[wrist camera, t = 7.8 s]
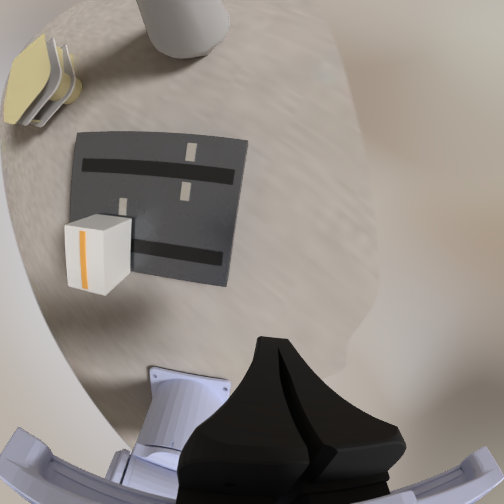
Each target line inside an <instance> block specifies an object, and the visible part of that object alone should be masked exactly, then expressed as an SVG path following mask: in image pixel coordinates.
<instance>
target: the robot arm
mask: <svg viewBox="0 0 504 504" xmlns="http://www.w3.org/2000/svg"><path fill="white" fill-rule="evenodd" d="M149 372H150V382H151V392H152V402H151V404H150V407H149V409H148V412H147V415H146V417H145V420H144V423H143V425H142V428H141V431H140V434H139V436H138V439H137V442H136V444H135V446H134V448H133V450H132V453H131V455H130V451H128V450H126V449H123V450H122V451H121V450H120V451H117V452H116V453H115V454H114V457H113V459H112V462H111V464H110V466H109V469H108V472H107V474H106V477H105V478H102V477H99V476H97V475H95V474H92V473H90V472H87V471H85V470H83V469H81V468H78V467H76V466H74V465H72V464H70V463H68V462H66V461H64V460H62V459H60V458H58V457H57V456H54V455H53V454H52V452H51V450H50V449H49V447H48V446H47V445H46V444H44V443H43V442H42V441H41V440H39V439H38V438H36V437H35V436H33V435H31V434H29V433H28V432H26V431H25V430H23V429H22V428H20V427H18V428H17V430H16V431H15V432H14V434H13V435H12V437H11V439H10V440H9V442H8V443H7V445H6V446H5V448H4V449H3V451H2V452H1V454H0V479H2V480H3V481H4V482H5V483H6V484H7V485H8V486H9V487H11V488H12V489H13V490H14V491H15V492H17V493H18V494H19V495H20V496H21V497H23V498H24V499H25V500H27V501H28V502H30V503H31V504H473V503H475V502H476V501H478V500H479V499H480V498H481V497H483V496H484V495H485V494H487V493H488V492H489V491H490V490H492V489H493V488H494V487H495V486H496V485H497V484H499V483H500V482H501V481H502V480H503V479H504V475H503V473H502V471H501V470H500V468H499V467H498V465H497V463H496V461H495V460H494V458H493V457H492V455H491V453H490V452H489V450H488V449H487V447H486V446H484V447H482V448H480V449H479V450H477V451H475V452H473V453H472V454H470V455H469V456H468V457H466V458H465V459H464V460H463V461H462V462H461V464H460V465H458V466H456V467H454V468H452V469H450V470H447V471H445V472H443V473H440V474H438V475H436V476H433V477H431V478H429V479H426V480H423V481H421V482H418V483H415V484H412V485H409V486H406V487H403V488H400V489H397V490H394V491H389V488H388V485H387V483H386V481H388V480H389V474H388V470H389V469H390V468H391V467H392V466H393V465H394V464H395V463H396V462H397V461H398V460H399V459H400V458H401V456H402V455H403V454H404V452H405V450H406V443H405V441H404V439H403V437H402V435H401V433H400V431H399V429H398V427H397V426H394V425H392V424H389V423H387V422H384V421H382V420H379V419H377V418H375V417H373V416H371V415H369V414H367V413H365V412H363V411H362V410H360V409H358V408H356V407H355V406H353V405H352V404H350V403H349V402H347V401H346V400H344V399H343V398H342V397H340V396H339V395H338V394H336V393H335V392H334V391H333V390H332V389H331V388H329V387H328V386H327V385H326V384H325V383H324V382H323V381H322V380H321V379H320V378H319V377H318V376H317V375H316V374H315V373H314V372H313V370H312V369H311V368H310V367H309V366H308V365H307V363H306V362H305V361H304V360H303V358H302V357H301V356H300V354H299V353H298V352H297V350H296V349H295V348H294V346H293V345H292V344H291V342H290V341H289V340H288V339H282V338H272V337H263V336H260V337H258V338H257V343H256V348H255V352H254V357H253V361H252V363H251V365H250V367H249V369H248V371H247V373H246V375H245V376H244V378H243V380H242V381H241V383H240V384H239V386H238V387H237V388H236V390H235V391H234V392H233V394H232V395H231V396H230V397H229V394H230V387H231V382H230V381H228V380H223V379H216V378H210V377H203V376H198V375H192V374H186V373H181V372H176V371H171V370H167V369H162V368H158V367H151V368H150V371H149ZM155 375H156V376H155ZM224 387H225V388H224Z"/></svg>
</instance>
